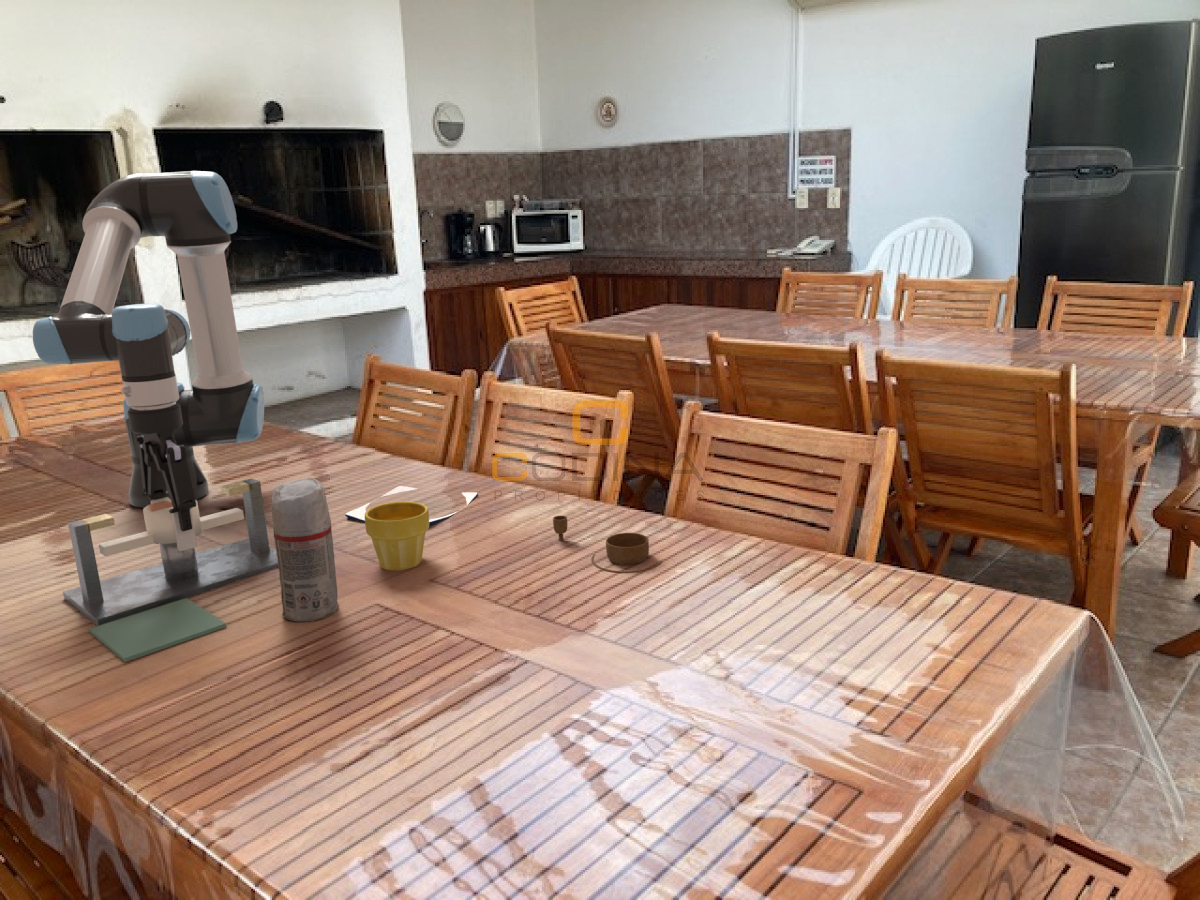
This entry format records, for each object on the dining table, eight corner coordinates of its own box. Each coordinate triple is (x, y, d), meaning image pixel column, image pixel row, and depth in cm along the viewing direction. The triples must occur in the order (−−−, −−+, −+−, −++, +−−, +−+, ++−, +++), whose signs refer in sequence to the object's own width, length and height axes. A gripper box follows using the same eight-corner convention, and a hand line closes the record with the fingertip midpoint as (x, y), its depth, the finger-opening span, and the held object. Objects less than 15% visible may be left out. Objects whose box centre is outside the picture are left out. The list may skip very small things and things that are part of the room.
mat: (187, 601, 145) (186, 597, 145) (226, 627, 135) (225, 623, 135) (90, 632, 136) (89, 628, 135) (125, 662, 126) (124, 658, 126)
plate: (338, 528, 177) (336, 515, 176) (399, 496, 195) (398, 484, 194) (431, 538, 169) (429, 524, 169) (485, 504, 187) (484, 491, 187)
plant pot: (445, 558, 158) (440, 503, 156) (409, 581, 149) (403, 523, 147) (395, 551, 162) (390, 498, 160) (357, 573, 153) (350, 517, 151)
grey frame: (251, 544, 169) (240, 470, 166) (294, 564, 158) (283, 486, 155) (64, 598, 148) (47, 516, 145) (98, 627, 137) (81, 538, 134)
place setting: (589, 590, 144) (588, 555, 143) (548, 549, 162) (546, 517, 161) (691, 571, 150) (691, 536, 149) (640, 533, 168) (639, 502, 167)
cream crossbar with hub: (230, 512, 161) (225, 480, 160) (251, 522, 156) (246, 489, 154) (94, 548, 147) (87, 513, 145) (112, 560, 141) (105, 524, 140)
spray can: (353, 603, 142) (338, 476, 137) (320, 626, 134) (303, 493, 129) (306, 597, 145) (289, 473, 139) (271, 620, 137) (253, 489, 132)
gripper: (104, 401, 150) (129, 535, 156) (154, 418, 136) (178, 564, 142) (152, 393, 155) (174, 523, 161) (205, 408, 141) (227, 550, 147)
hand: (176, 542), depth 152 cm, fingers closed on cream crossbar with hub, 8 cm apart
